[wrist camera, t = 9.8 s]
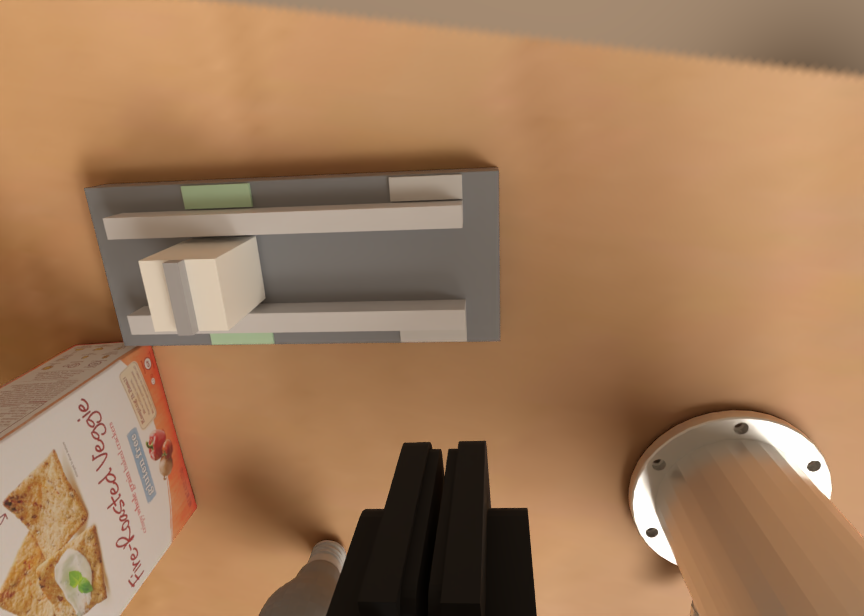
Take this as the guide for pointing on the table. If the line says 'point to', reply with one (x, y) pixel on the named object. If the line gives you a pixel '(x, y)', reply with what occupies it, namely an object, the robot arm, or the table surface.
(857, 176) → the table surface
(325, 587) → the light bulb
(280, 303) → the switch panel
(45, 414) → the cracker box
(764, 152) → the table surface
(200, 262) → the switch tab
